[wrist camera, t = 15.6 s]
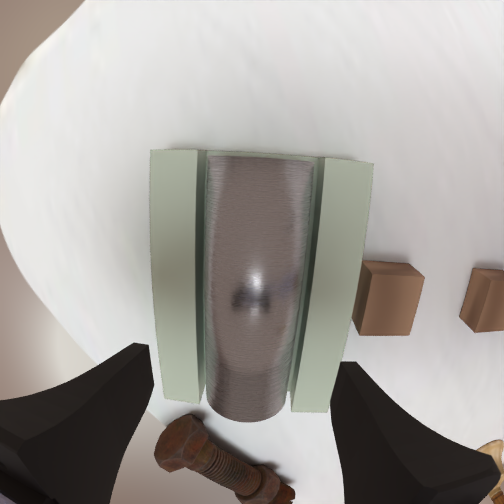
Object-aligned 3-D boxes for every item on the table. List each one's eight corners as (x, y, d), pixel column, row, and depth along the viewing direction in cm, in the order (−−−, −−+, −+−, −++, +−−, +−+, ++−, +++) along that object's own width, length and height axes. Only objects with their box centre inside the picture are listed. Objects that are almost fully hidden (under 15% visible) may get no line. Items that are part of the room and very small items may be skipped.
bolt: (279, 474, 29) (176, 410, 26) (312, 479, 25) (203, 411, 22) (258, 515, 25) (144, 458, 22) (291, 525, 21) (167, 470, 18)
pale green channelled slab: (357, 162, 17) (373, 163, 14) (322, 383, 22) (327, 412, 19) (169, 150, 18) (150, 149, 15) (175, 371, 22) (164, 398, 19)
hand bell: (472, 446, 25) (515, 539, 9) (512, 434, 24) (556, 511, 9) (443, 483, 27) (472, 567, 12) (483, 470, 27) (516, 543, 12)
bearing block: (502, 270, 18) (520, 281, 16) (489, 316, 20) (504, 330, 17) (361, 260, 19) (372, 274, 17) (350, 316, 20) (359, 335, 18)
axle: (214, 155, 17) (199, 154, 12) (305, 161, 17) (325, 162, 12) (211, 368, 21) (201, 418, 16) (282, 372, 21) (288, 423, 16)
